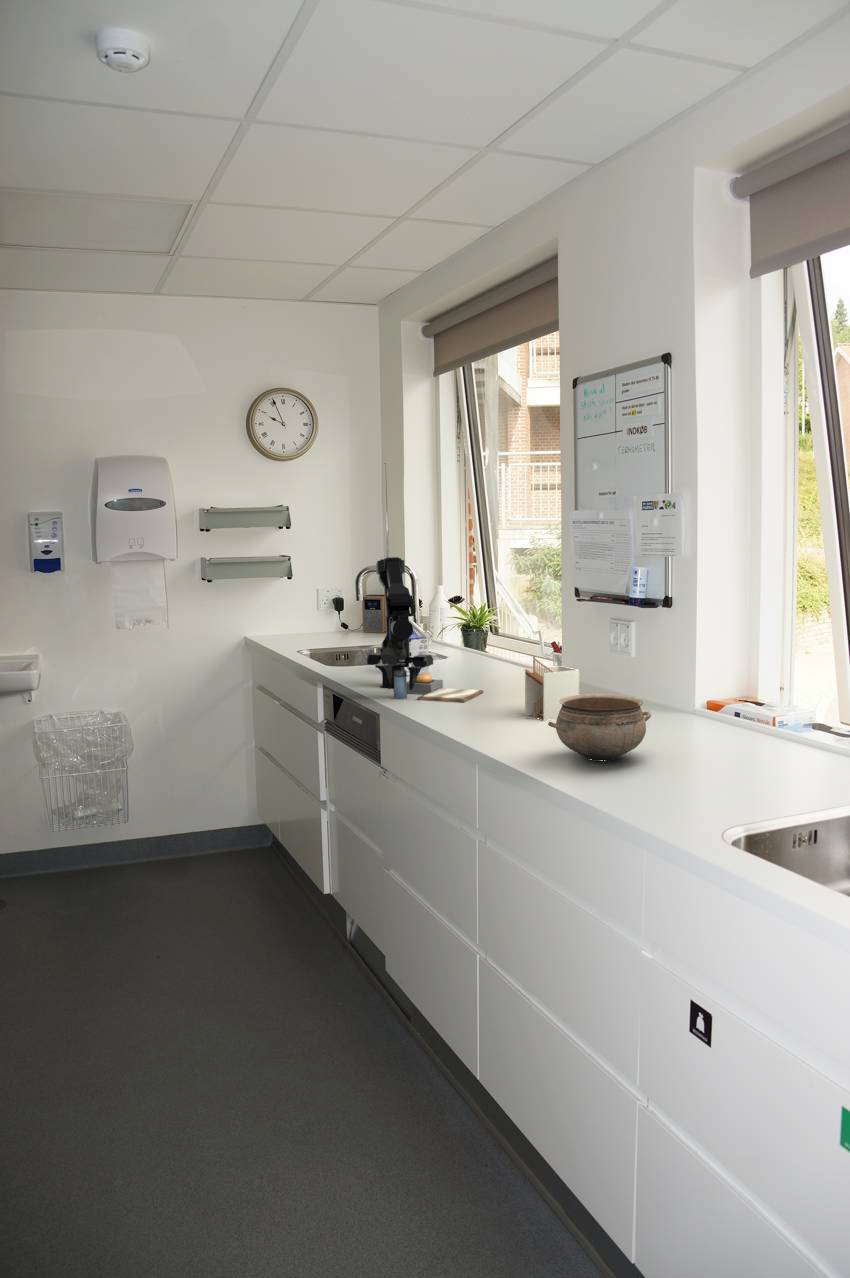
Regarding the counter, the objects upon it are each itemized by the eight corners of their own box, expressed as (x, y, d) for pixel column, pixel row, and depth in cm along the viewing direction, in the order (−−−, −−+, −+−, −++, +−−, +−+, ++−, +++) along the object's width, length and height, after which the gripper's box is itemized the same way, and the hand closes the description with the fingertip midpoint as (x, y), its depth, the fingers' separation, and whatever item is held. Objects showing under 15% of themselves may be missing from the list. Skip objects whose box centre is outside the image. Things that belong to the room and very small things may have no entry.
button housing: (403, 693, 292) (403, 683, 292) (415, 688, 300) (415, 678, 300) (431, 694, 288) (431, 684, 288) (442, 689, 297) (442, 679, 296)
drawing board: (418, 699, 281) (418, 696, 281) (439, 690, 295) (439, 687, 295) (464, 702, 275) (464, 699, 275) (483, 692, 290) (483, 689, 290)
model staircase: (524, 716, 257) (524, 653, 255) (559, 712, 262) (559, 650, 260) (543, 722, 249) (543, 657, 247) (579, 718, 254) (579, 654, 252)
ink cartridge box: (423, 672, 332) (422, 629, 330) (430, 674, 327) (429, 631, 325) (396, 674, 327) (395, 631, 326) (402, 676, 322) (402, 632, 321)
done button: (412, 682, 293) (411, 675, 292) (418, 679, 297) (418, 673, 297) (427, 683, 291) (427, 676, 290) (433, 680, 295) (433, 674, 295)
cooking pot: (573, 774, 197) (573, 714, 195) (527, 754, 214) (527, 699, 213) (676, 761, 206) (677, 703, 205) (624, 742, 224) (625, 689, 222)
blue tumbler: (391, 698, 283) (391, 671, 282) (397, 696, 287) (396, 669, 286) (403, 699, 282) (403, 671, 281) (409, 697, 285) (408, 670, 284)
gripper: (357, 637, 278) (358, 692, 280) (418, 640, 271) (419, 696, 273) (374, 633, 288) (375, 686, 290) (433, 635, 281) (434, 689, 283)
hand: (400, 689), depth 284 cm, fingers open, 6 cm apart
